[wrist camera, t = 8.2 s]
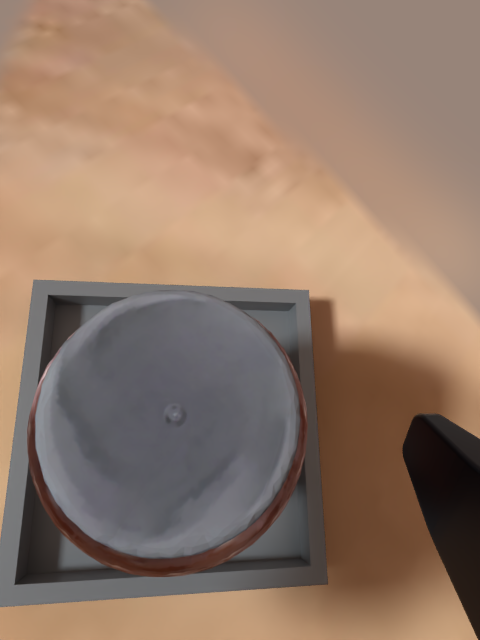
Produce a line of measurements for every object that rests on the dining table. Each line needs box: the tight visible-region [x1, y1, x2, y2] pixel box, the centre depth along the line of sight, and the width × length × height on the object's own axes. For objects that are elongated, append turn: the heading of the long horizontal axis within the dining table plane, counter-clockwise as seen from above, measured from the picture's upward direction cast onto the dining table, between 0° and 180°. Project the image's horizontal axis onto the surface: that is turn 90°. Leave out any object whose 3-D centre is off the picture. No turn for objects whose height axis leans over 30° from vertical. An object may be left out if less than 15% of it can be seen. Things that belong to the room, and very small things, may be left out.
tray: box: [0, 280, 328, 607], centre depth 17 cm, size 11×11×2 cm
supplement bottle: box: [27, 290, 308, 577], centre depth 12 cm, size 6×6×11 cm
